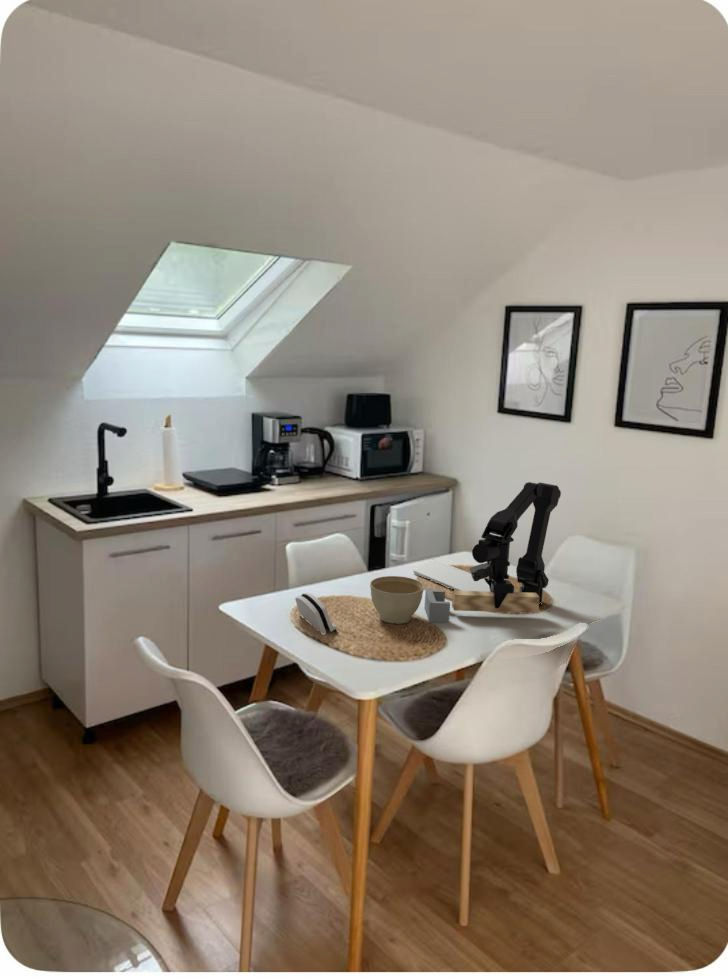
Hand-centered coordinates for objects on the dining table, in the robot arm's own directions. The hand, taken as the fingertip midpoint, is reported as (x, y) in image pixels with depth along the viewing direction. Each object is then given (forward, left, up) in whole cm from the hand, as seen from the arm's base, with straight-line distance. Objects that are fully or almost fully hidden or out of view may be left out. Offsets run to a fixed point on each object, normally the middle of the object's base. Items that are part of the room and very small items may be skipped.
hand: (495, 605), depth 231 cm
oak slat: (0, 0, -1) cm, 1 cm away
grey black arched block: (+55, +10, -4) cm, 56 cm away
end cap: (+18, 0, -4) cm, 18 cm away
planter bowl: (+31, +4, -4) cm, 32 cm away
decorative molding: (+8, -29, -4) cm, 31 cm away
